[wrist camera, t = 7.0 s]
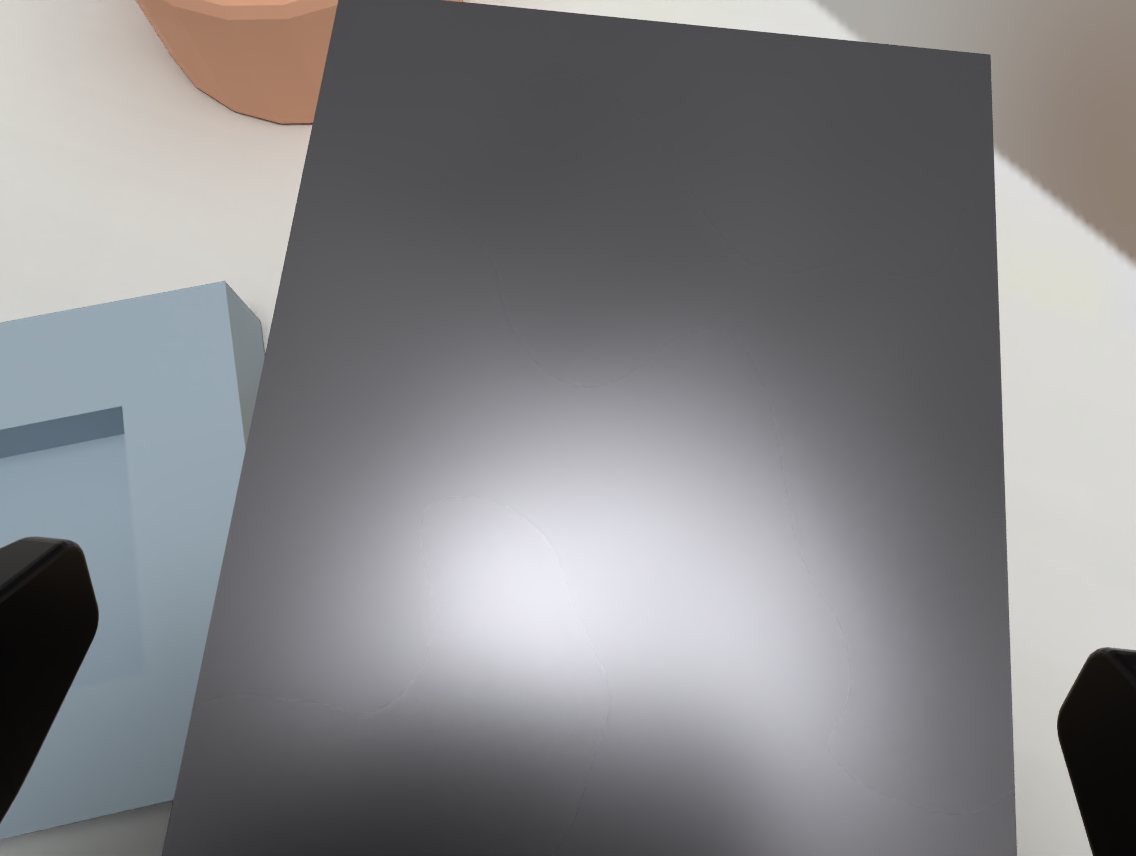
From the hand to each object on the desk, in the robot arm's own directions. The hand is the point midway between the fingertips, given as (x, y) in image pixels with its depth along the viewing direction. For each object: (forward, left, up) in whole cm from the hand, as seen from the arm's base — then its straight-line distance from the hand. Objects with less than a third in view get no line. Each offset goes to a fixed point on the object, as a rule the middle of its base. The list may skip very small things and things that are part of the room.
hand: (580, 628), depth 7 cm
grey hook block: (0, 0, -9) cm, 9 cm away
